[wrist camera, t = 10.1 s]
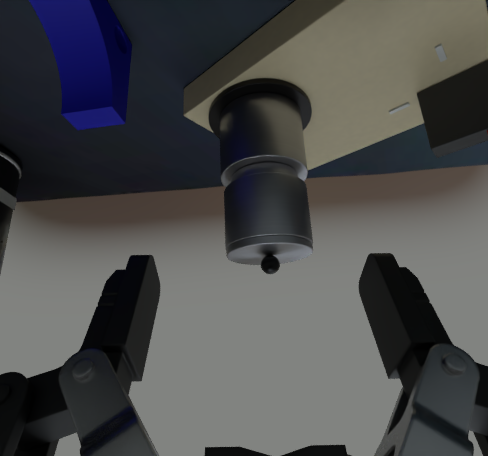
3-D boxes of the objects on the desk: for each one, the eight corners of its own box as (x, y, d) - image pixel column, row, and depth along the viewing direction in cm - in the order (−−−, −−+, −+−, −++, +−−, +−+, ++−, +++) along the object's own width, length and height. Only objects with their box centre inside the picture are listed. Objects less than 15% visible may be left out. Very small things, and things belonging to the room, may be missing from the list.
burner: (253, 154, 30) (253, 158, 30) (186, 115, 24) (186, 120, 24) (329, 116, 25) (330, 120, 25) (269, 57, 20) (269, 63, 20)
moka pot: (254, 164, 31) (262, 289, 27) (203, 110, 23) (204, 272, 20) (318, 145, 28) (337, 280, 25) (284, 79, 21) (303, 257, 17)
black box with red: (422, 104, 24) (437, 161, 23) (416, 93, 23) (431, 152, 22) (492, 73, 22) (514, 135, 20) (488, 59, 21) (512, 123, 19)
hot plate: (291, 159, 36) (293, 181, 35) (183, 88, 25) (182, 117, 24) (523, 55, 24) (535, 86, 23) (501, -164, 13) (523, -124, 12)
